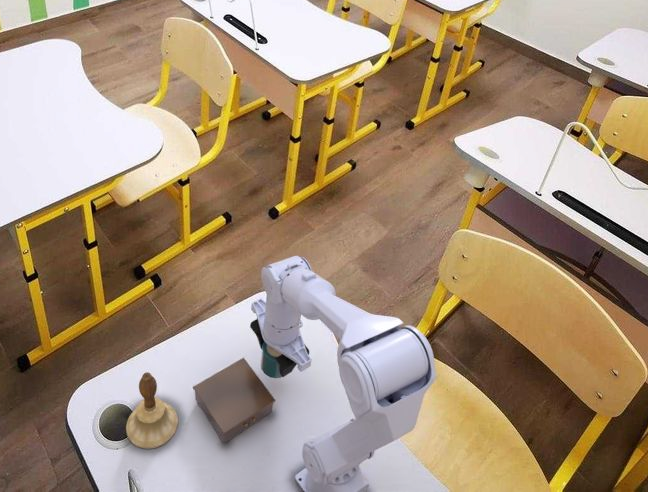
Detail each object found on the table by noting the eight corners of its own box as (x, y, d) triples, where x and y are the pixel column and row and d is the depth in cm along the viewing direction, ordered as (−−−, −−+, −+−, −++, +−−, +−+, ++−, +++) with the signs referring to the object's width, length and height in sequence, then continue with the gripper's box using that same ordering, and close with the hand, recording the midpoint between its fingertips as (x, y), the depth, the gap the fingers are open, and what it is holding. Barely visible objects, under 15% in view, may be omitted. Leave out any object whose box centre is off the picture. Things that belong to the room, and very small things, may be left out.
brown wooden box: (274, 415, 102) (276, 401, 99) (224, 448, 97) (224, 434, 93) (242, 371, 107) (243, 357, 104) (193, 400, 102) (192, 386, 98)
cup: (305, 363, 104) (308, 344, 100) (271, 384, 100) (274, 365, 96) (287, 341, 106) (290, 322, 102) (254, 360, 102) (256, 342, 98)
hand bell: (172, 395, 102) (167, 345, 91) (183, 439, 97) (179, 391, 86) (122, 410, 99) (110, 360, 88) (130, 456, 93) (119, 409, 83)
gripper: (330, 335, 91) (319, 379, 100) (277, 274, 98) (272, 320, 107) (293, 357, 87) (286, 401, 96) (241, 292, 94) (239, 339, 103)
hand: (276, 360), depth 102 cm, fingers closed on cup, 5 cm apart
